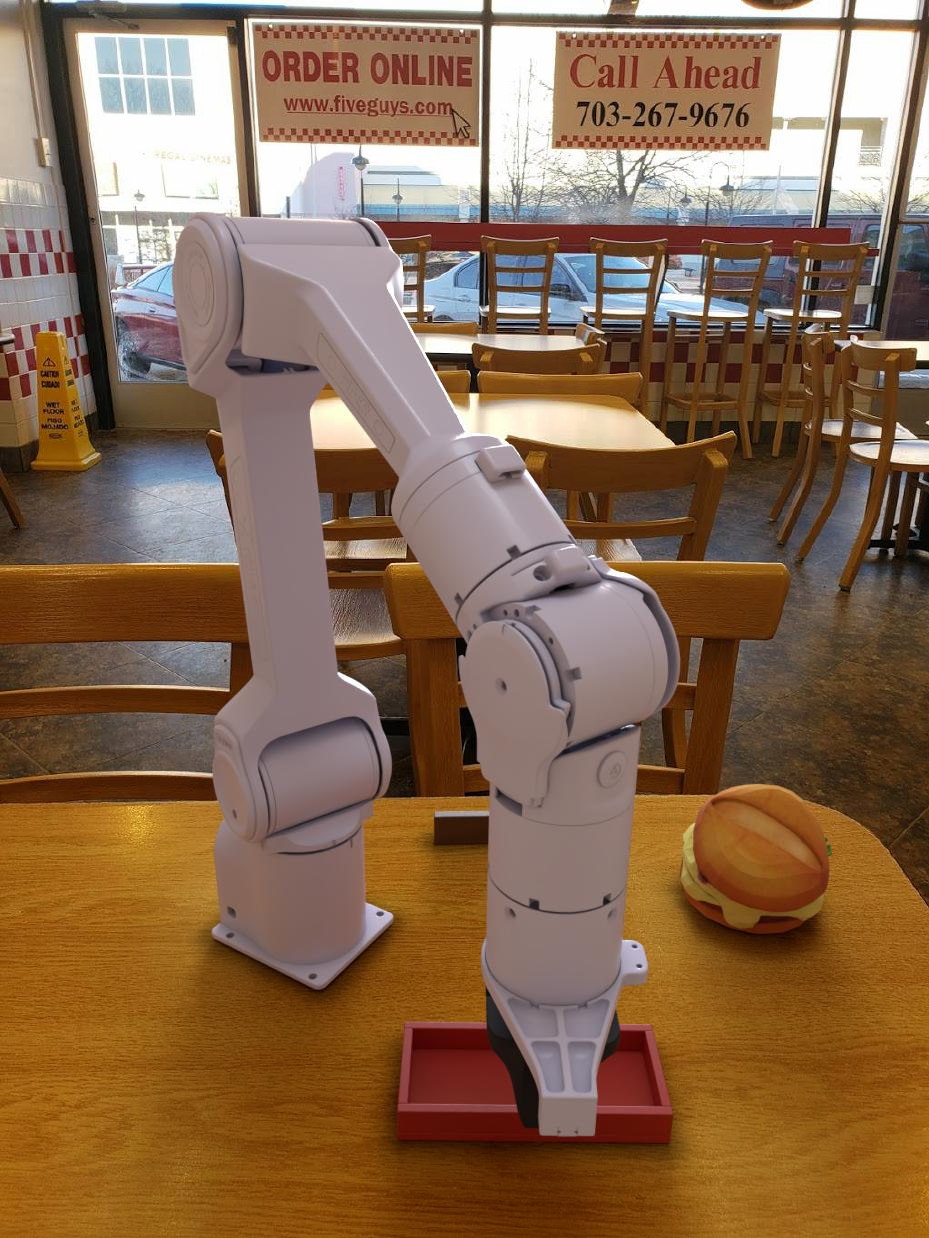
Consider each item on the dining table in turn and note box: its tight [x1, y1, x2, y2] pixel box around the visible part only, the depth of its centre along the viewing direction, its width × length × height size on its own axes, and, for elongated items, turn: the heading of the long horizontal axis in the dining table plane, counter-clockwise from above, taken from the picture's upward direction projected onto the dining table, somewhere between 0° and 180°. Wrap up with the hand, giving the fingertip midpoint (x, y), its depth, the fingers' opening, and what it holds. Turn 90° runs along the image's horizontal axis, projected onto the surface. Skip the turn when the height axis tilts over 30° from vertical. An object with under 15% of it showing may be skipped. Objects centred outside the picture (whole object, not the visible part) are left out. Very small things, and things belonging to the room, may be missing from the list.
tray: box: [396, 1021, 674, 1144], centre depth 51 cm, size 6×14×2 cm, turn 90°
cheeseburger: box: [679, 783, 833, 935], centre depth 65 cm, size 10×11×10 cm
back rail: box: [433, 810, 489, 845], centre depth 73 cm, size 1×12×2 cm, turn 93°
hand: (543, 1115), depth 43 cm, fingers closed
